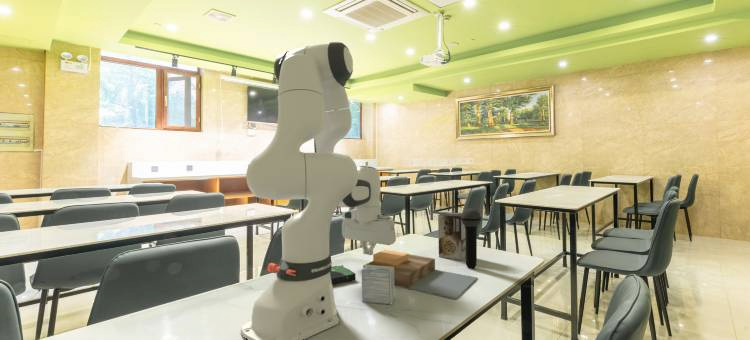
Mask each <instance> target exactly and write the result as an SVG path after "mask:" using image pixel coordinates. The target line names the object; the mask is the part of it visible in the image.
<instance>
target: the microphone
mask: <svg viewBox="0 0 750 340" xmlns="http://www.w3.org/2000/svg"><path fill="white" fill-rule="evenodd" d="M461 213H462V215H461V221H462V223H463V224H464V225H465V229H466V230H465V258H464V259H465V265H466V267H467V269H469V270H473V269H475V268H476V266H477V260H478V258H477V257H478V255H477V253H478V252H477V250H478V249H477V247H478V245H477V241H478V240H477V238H478V234H477V231H478V226H479V225H480V224H481V221H482V216H481V214H480V212H479V211H478V210H477V209H475V208H467V209H465V210H463V212H461Z"/></svg>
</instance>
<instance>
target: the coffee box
mask: <svg viewBox="0 0 750 340" xmlns="http://www.w3.org/2000/svg"><path fill="white" fill-rule="evenodd" d="M462 213H463V212H449V211H447V212H446V211H443V212H441V213H439V214H437V225H438V227H437V230H438V258H443V259H444V258H445V259H451V260H460V261H463V260H464V259H465V230H466V229H465V225H464V224H463V223H462V221H461V215H462Z"/></svg>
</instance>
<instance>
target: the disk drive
mask: <svg viewBox="0 0 750 340" xmlns="http://www.w3.org/2000/svg"><path fill="white" fill-rule="evenodd" d="M331 267H332V269H331V271H330V276H331V281H332V286H333V287H334V286H337V285H341V284H348V283H350V282H356V273H355V272H353V270H351V269H349V268H347V267H345V266H344V265H343V264H342V265H334V266H331Z"/></svg>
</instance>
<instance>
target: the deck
mask: <svg viewBox="0 0 750 340" xmlns="http://www.w3.org/2000/svg"><path fill="white" fill-rule="evenodd" d="M366 265H376V266H389V267H394V286H396V287H400V288H403V289H408V290H410V289H409V287H410V286H411V285H413V284H414V283H416V282H417V281H419V280H420V279H422V278H423V277H425V276H426V275H428V274H429V273H431V272H432V271H434V270H436V258H434V257H427V256H421V255H415V254H411V253H408V260H406V261H405V262H403V263H401V264H399V265H392V264H387V263H382V262H377V261H373V260H372V261H370V262H368V263H365V264H363V265H362V269H363V268H364V267H365V266H366Z"/></svg>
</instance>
